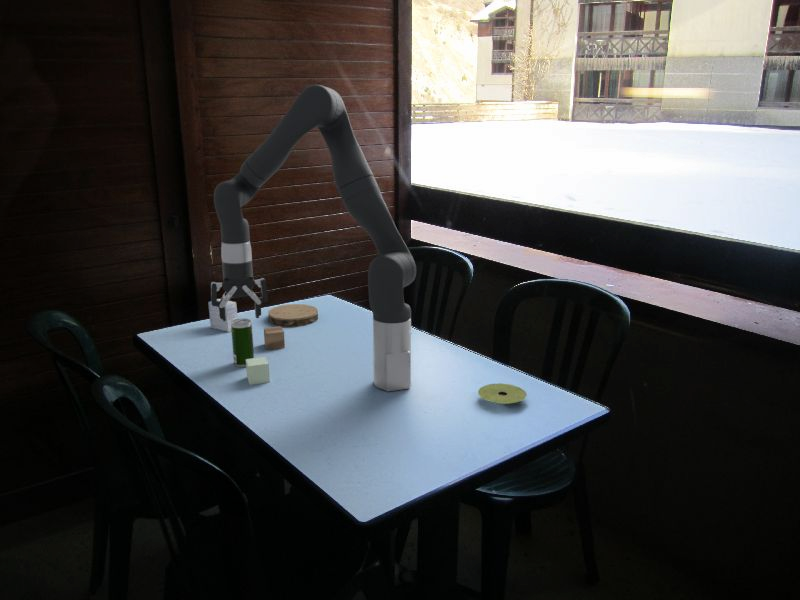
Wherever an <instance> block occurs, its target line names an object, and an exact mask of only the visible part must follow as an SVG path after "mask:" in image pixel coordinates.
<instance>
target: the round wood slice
mask: <svg viewBox="0 0 800 600" xmlns="http://www.w3.org/2000/svg"><path fill="white" fill-rule="evenodd" d="M318 312H319V311H318V308H317V307H316V306H312V305H309V304H303V303H299V304H298V303H292V304H284V305H282V304H281V305H277V306H275V307H273V308H271V309H270V310H268V315H267V317H268V322H269V323H270V324H271V325H273V326H275V327H279V326H281V327H282V328H288V327H289V328H293V327H294V328H296V327H304V326H308V325H312V324H313V323H315V322H317V321H318V320H319V313H318Z"/></svg>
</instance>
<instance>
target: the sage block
mask: <svg viewBox="0 0 800 600" xmlns="http://www.w3.org/2000/svg"><path fill="white" fill-rule="evenodd" d="M269 364H270V363H269V361H268V358H267V357H266V356H261V357H254V358H252V359H246V367H245V369H246V379H247V381H248V384H249V385H250V386H251V385H258V384H259V385H260V384H266V383H270V382H271V381H270V379H271V378H270V377H271V376H270V365H269Z"/></svg>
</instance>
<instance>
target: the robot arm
mask: <svg viewBox="0 0 800 600" xmlns="http://www.w3.org/2000/svg"><path fill="white" fill-rule="evenodd" d="M315 127H317V129H318V130H319V133H320V134H321V135H322V138H323V139H324V142H325V143H326V146H327V150H328V151H329V155H330V160H331V167H332V168H331V169H332V175H333V181H334V185H335V187H336V190H337V191H338V195H339V197H340V199H341V201H342V204H343V206H344V207H345V210H346V211H347V212H348V214H349V215H350V216H351V217H352V218H353V220H355V222H356V223H357V224H358V225H359V226H360V227H361V228H362V229H363V230H364V231H365V232H366V233H367V234H368V236H369V237H370V239H371V240H372V243H373V244H374V247H375V248H376V251H377V254H378V256H376V257H374V259H372V261H371V262H370V264H369V267H368V272H367V285H368V299H369V301H368V302H369V307H370V309H371V311H372V326H373V327H372V338H373V339H372V342H373V344H372V345H373V347H372V349H373V352H372V353H373V358H372V359H373V360H372V363H373V385H374V386H375V387H376V388H378V389H380V390H384V391H385V392H387V393H388V392H395V391H402V390H406V389H407V390H408V389H411V384H412V381H411V380H412V379H411V378H412V376H411V375H412V370H411V369H412V365H411V364H412V361H411V360H412V359H411V358H412V357H411V356H412V351H411V350H412V347H411V346H412V308H411V306H410V305H409V304H408V303H405V299H404V297H405V295H404V288H405V287H408V286H410V285H411V284H412V283H413V282H414V280H415V279H416V277H417V265H416V262H415V260H414V256H413V254H412V253H411V251H410V249H409V248H408V246H407V244H406V243H405V241H404V239H403V237H402V235H401V234H400V231H399V230H398V229H397V226H396V224H395V221H394V219H393V217H392V215H391V213H390V211H389V210H390V209H389V208H388V206H387V203H386V201H385V199H384V197H383V195H382V192H381V190H380V187H379V184H378V183H377V180H376V178H375V175H374V173H373V172H372V170H371V168H370V165H369V164H368V161H367V159H366V156H365V155H364V152H363V151H362V148H361V146H360V145H359V142H358V141H357V137H356V136H355V133H354V130H353V127H352V124H351V121H350V118H349V114H348V112H347V108H346V106H345V102H344V101H343V98H342V97H341V95H340V94H339V93H338V92H337V91H336V90H335V89H332V88H330V87H329V86H328V87H327V86H324V85H322V84H311V85H308V86H306V87H305V88H303V89H302V90H301V92H300V93H299V94H298V96H297V97H296V99H295V100H294V101H293V103H292V104H291V106H290V108H289V109H288V110H287V112H286V113H285V115H283V118H282V119H281V120H280V122H279V123H278V124H277V125H276V127H275V128H274V129H273V130H272V132H271V133H270V134H268V137H266V139H265V140H263V142H262V143H261V144H260V145H259V146H258V147H257V148H256V149H255V150H254V151H253V152H252V153H251V154H250V155H249V156H248V157H247V158H246V159H244V160H245V161H244V162H242V164H241V166H240V168H239V172H237V173H236V175H235V176H234V177H233V178H231V179H229V180H226V181H222V182H220V183H218V184H217V185H216V187H215V189H214V191H213V204H214V208H215V213H216V215H217V219H218V222H219V224H220V235H221V236H220V238H221V239H220V240H221V249H220V250H221V258H220V259H221V265H222V267H221V268H222V281H221V282H215V281H214V280H213V281H211V282H210V301H211V303H212V306H217V307H219V316H220V319H223V321H226V316H225V307H224V306H225V304H226V303H227V302H228V301H230V300H231V299H232V298H233V299H237V298H247V297H248V296H249V297H250V298H251V299H252V301H254V315H255V318H256V319H259V318H260V316H261V315H262V303H265V302H266V303H267V302H268V301H269V297H268V290H267V281H266V279H265V278H264V277H260V278H259V279H255V278H254V272H253V271H254V270H253V269H254V268H253V255H252V253H253V251H252V246H251V239H250V238H251V235H250V234H251V233H250V225H249V224H250V223H249V222H248V220H247V219H246V218H244V215H243V212H242V207H243V206H246V205H247V204H248V203H249V202H250V201H252V199H253V198H255V196H256V194H257V193H258V192H259V190H260V189H261V187H262V186H263V185H264V184H266V183H267V181H268V180H270V178H271V177H273V176H274V175H275V174H276V173H277V172H278V171H279V169H281V167H282V166H283V165H284V164H285V162H286V161H287V159H288V158H289V155H290V154H291V152H292V151H293V149H294V147H295V145H297V143H298V142H299V140H301V139H302V138H303V137H304V136H305V135H306V134H307V133H309V132H311V131H312V130H313V129H314V128H315ZM256 285H257V287H258V288H260V292H261V296H260V297H258V296H257V294H256V293H255V292H254V291H253V289H254V288H255V286H256ZM221 288H222V289H223V290H224V291H225V292H224V293H223V294H222V297H221V298H220V299H221V300H220V301H217V299H218V297H217V294H218V293H217V292H219V291H220V289H221Z"/></svg>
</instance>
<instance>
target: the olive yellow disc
mask: <svg viewBox="0 0 800 600" xmlns="http://www.w3.org/2000/svg"><path fill="white" fill-rule="evenodd" d="M477 393H478V396H479V397H480V398H481V399H483V400H485V401H488V402H492V403H494V404H495V403H496V404H503V405H505V404H516V403H519V402H522V401H523V400H525V399H526V398H527V396H528V395H527V392H526V390H524V389H522V388H521V387H519V386H516V385H513V384H509V383H508V384H507V383H501V382H500V383H490V384H489V383H488V384H486V385H483V386H481V387H480V388H479V389H478V391H477Z"/></svg>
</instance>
